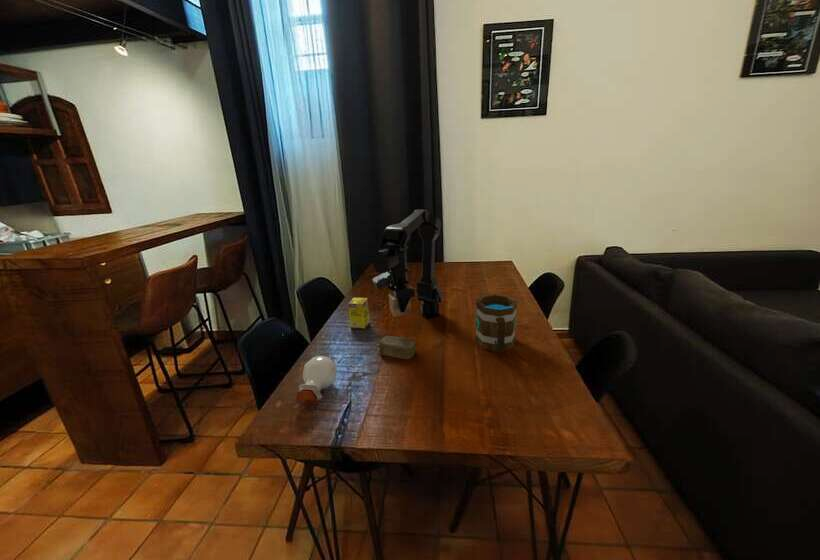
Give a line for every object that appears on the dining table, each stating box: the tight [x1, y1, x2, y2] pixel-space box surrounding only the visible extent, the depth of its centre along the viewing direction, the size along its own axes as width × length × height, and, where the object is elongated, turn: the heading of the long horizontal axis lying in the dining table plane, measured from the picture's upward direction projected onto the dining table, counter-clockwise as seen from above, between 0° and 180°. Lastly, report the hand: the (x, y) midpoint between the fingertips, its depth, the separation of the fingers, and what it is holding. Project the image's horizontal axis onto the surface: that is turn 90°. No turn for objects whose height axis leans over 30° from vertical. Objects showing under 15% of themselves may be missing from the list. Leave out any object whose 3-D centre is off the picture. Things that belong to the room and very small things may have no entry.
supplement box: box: [347, 297, 371, 331], centre depth 133 cm, size 6×6×11 cm
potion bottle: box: [295, 355, 338, 410], centre depth 96 cm, size 9×10×15 cm
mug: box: [474, 293, 518, 353], centre depth 113 cm, size 20×14×15 cm
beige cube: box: [388, 293, 412, 318], centre depth 117 cm, size 6×6×6 cm
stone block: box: [378, 335, 417, 360], centre depth 114 cm, size 6×12×5 cm, turn 69°
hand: (400, 308), depth 118 cm, fingers closed on beige cube, 6 cm apart
